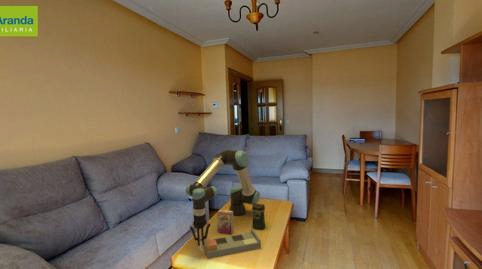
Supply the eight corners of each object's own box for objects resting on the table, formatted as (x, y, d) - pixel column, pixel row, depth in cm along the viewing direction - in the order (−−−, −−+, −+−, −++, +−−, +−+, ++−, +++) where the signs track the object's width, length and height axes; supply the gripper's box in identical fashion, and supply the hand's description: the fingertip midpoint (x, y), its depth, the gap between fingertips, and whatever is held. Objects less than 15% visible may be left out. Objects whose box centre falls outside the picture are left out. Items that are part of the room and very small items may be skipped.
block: (206, 247, 157) (206, 241, 157) (215, 245, 159) (215, 239, 158) (207, 252, 151) (207, 246, 151) (217, 250, 153) (217, 244, 153)
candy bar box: (217, 232, 180) (216, 211, 178) (220, 229, 185) (219, 208, 183) (231, 235, 176) (231, 213, 175) (234, 231, 181) (233, 210, 179)
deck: (203, 244, 165) (203, 236, 164) (252, 235, 175) (252, 228, 174) (207, 258, 149) (207, 250, 148) (260, 248, 159) (260, 240, 158)
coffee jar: (266, 226, 189) (266, 203, 187) (263, 230, 181) (262, 207, 180) (254, 223, 193) (254, 201, 191) (251, 228, 185) (250, 205, 184)
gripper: (189, 218, 144) (191, 255, 147) (211, 214, 148) (212, 251, 150) (188, 213, 151) (190, 248, 154) (209, 210, 155) (210, 244, 158)
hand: (201, 249), depth 152 cm, fingers closed
